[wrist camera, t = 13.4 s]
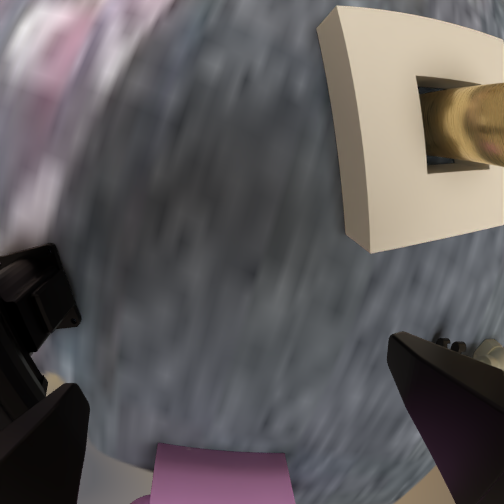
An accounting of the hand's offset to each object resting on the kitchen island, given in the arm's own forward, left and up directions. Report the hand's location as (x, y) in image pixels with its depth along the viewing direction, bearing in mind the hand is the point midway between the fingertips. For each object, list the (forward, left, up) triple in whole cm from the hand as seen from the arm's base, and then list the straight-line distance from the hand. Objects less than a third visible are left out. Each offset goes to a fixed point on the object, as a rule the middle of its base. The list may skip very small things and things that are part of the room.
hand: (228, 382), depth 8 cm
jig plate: (+15, +6, -13) cm, 21 cm away
